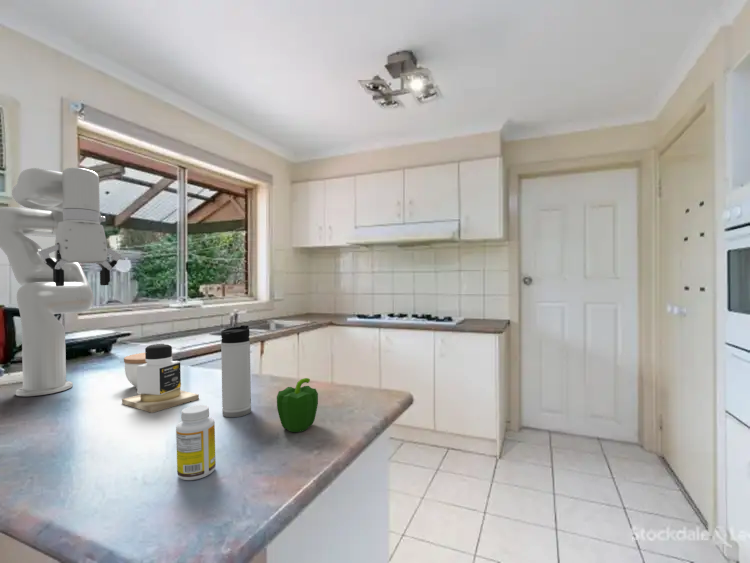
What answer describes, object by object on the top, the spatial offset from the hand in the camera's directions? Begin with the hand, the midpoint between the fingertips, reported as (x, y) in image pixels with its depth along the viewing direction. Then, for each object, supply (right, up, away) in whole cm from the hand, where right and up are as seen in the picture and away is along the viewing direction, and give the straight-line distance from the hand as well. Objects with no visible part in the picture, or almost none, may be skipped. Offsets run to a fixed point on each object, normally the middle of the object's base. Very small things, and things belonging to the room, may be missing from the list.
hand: (83, 285), depth 98 cm
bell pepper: (+59, -29, -19) cm, 68 cm away
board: (+19, -30, +1) cm, 36 cm away
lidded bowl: (+7, -30, +17) cm, 36 cm away
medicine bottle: (+19, -28, +1) cm, 33 cm away
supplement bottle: (+46, -30, -37) cm, 66 cm away
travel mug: (+42, -30, -8) cm, 52 cm away
